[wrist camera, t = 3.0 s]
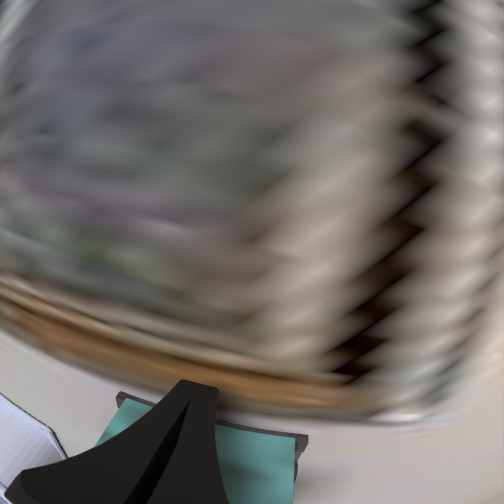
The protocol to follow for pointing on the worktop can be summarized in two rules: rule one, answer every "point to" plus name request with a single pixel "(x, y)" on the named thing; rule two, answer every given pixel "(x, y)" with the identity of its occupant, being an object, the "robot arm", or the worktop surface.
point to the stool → (236, 459)
